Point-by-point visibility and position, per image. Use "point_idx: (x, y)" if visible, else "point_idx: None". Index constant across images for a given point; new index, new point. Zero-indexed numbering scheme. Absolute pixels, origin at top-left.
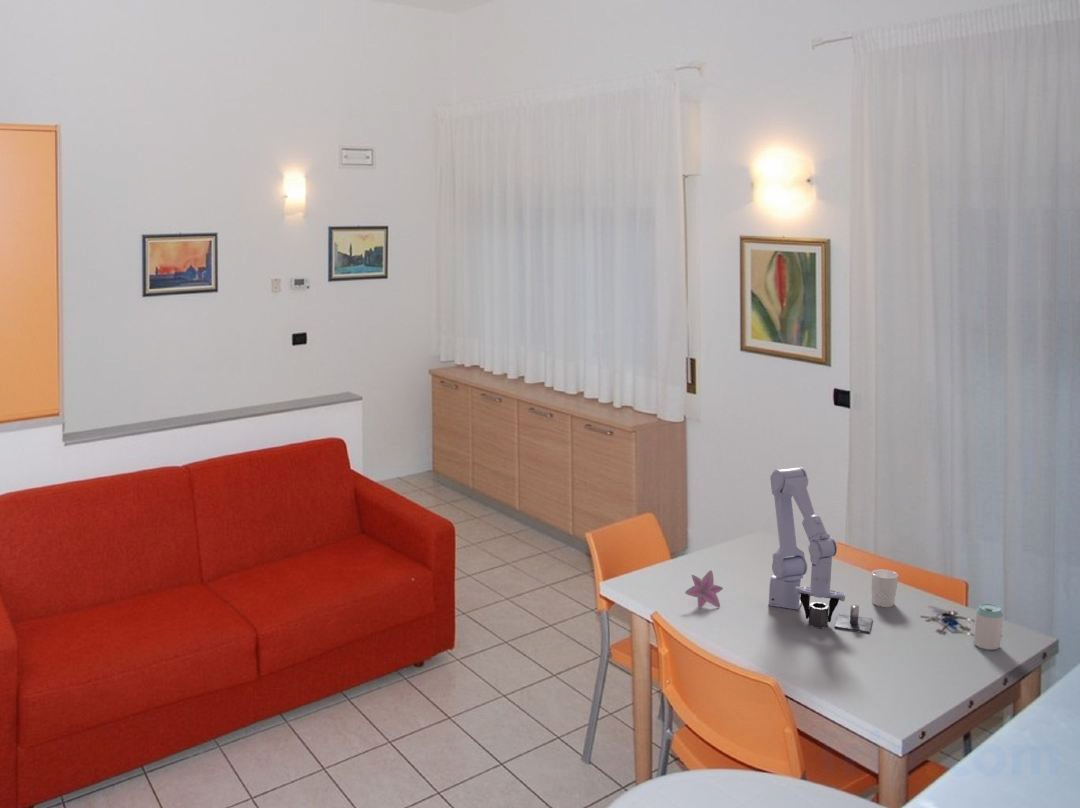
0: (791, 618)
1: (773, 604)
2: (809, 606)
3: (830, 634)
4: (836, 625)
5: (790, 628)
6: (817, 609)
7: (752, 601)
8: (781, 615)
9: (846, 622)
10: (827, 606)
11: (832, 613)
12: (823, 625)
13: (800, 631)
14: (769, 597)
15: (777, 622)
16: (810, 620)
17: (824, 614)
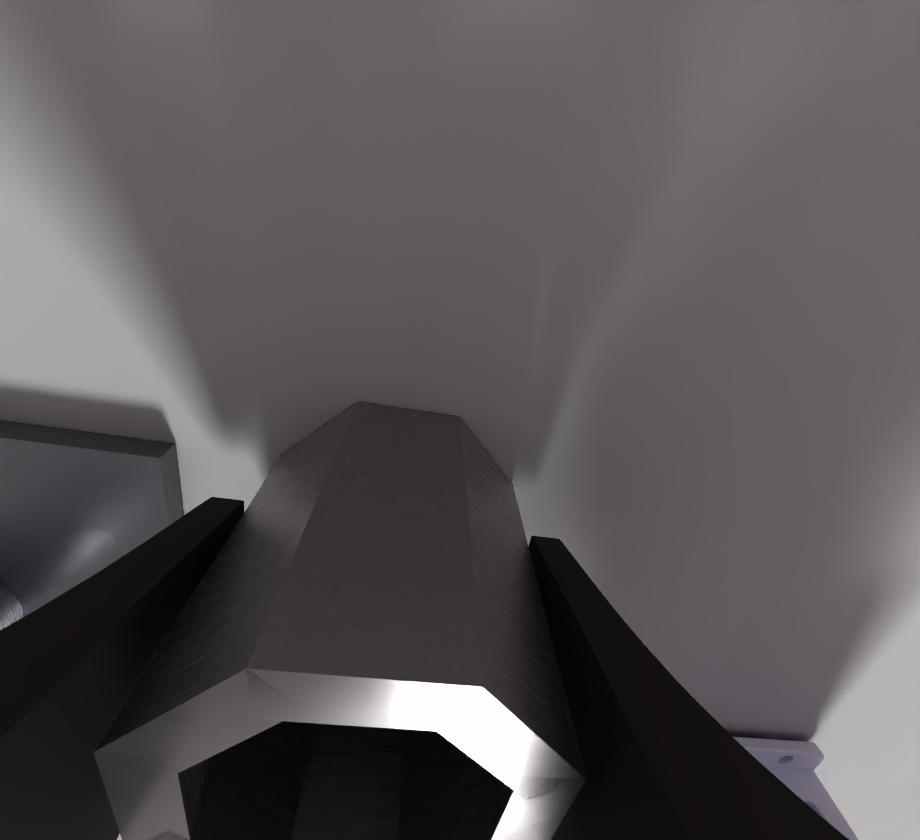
0: (681, 576)
1: (777, 757)
2: (579, 753)
3: (185, 202)
4: (143, 484)
5: (790, 306)
6: (385, 661)
7: (910, 767)
8: (766, 614)
9: (47, 582)
10: (142, 819)
11: (32, 613)
12: (315, 439)
13: (667, 222)
14: (853, 835)
15: (890, 454)
16: (501, 500)
17: (241, 575)
